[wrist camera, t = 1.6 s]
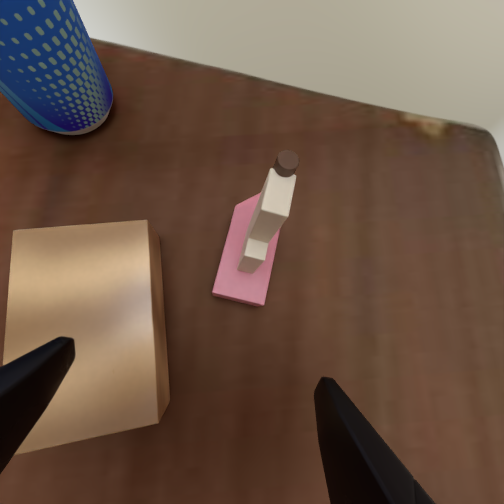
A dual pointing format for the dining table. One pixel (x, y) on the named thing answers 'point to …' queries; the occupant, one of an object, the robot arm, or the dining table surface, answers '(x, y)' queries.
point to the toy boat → (256, 236)
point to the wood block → (92, 325)
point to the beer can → (52, 66)
